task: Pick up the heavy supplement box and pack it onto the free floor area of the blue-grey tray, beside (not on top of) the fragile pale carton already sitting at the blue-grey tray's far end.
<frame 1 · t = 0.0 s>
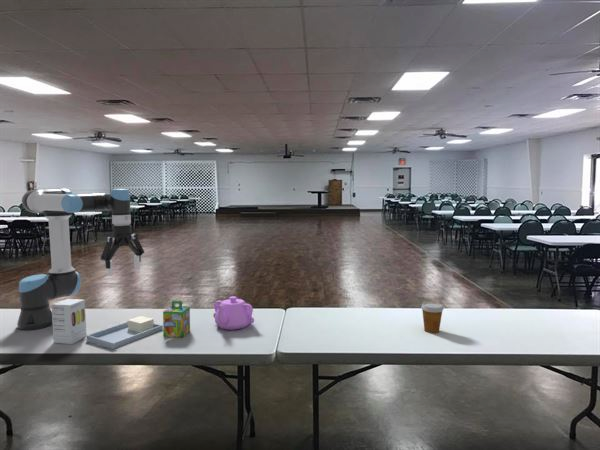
hand: (124, 272, 186), 28 cm above the table, fingers open, 13 cm apart
supplement box: (70, 340, 184), on the table
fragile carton: (141, 329, 194), point 1 cm above the table, touching blue-grey tray
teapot: (231, 327, 198), on the table
chalk box: (177, 334, 190), on the table
disposable coffee cup: (431, 331, 191), on the table
blue-grey tray: (126, 335, 188), on the table
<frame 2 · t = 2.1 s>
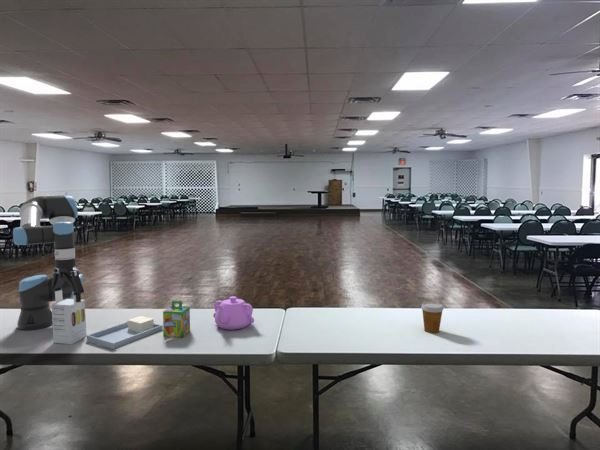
hand: (68, 307, 182), 14 cm above the table, fingers open, 13 cm apart
nothing on the table moved.
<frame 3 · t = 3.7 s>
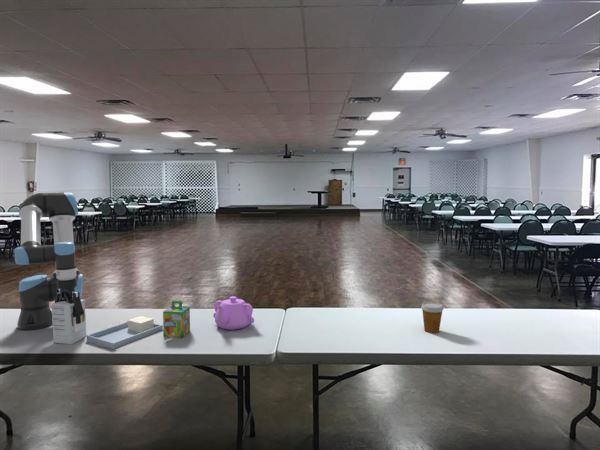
hand: (69, 328, 183), 5 cm above the table, fingers closed on supplement box, 11 cm apart
supplement box: (70, 340, 183), on the table, touching gripper
everything else where it was.
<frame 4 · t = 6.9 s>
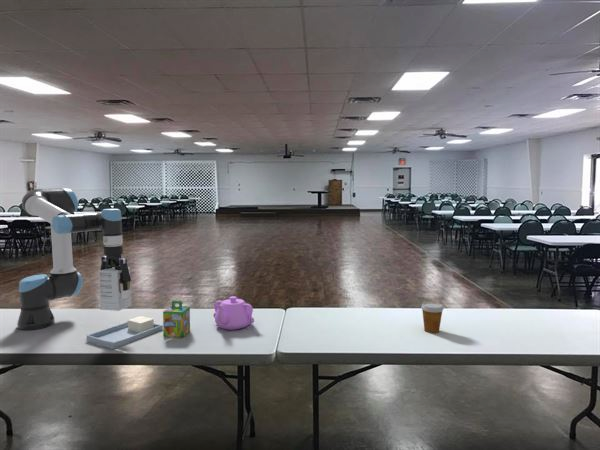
hand: (115, 296, 182), 19 cm above the table, fingers closed on supplement box, 11 cm apart
supplement box: (116, 307, 183), point 14 cm above the table, touching gripper
everything else where it was.
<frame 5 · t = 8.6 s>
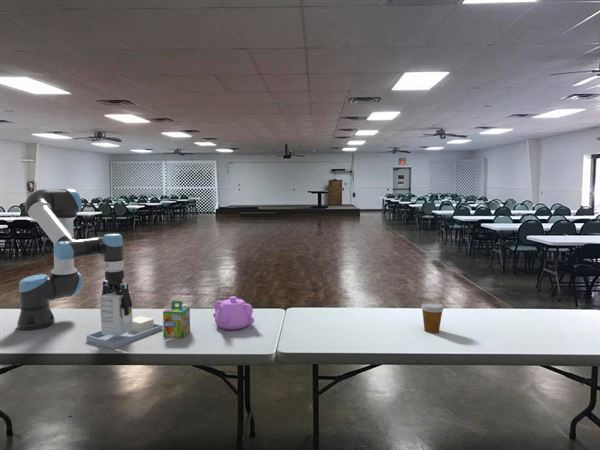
hand: (117, 320, 183), 8 cm above the table, fingers closed on supplement box, 11 cm apart
supplement box: (117, 332, 184), point 3 cm above the table, touching gripper
everything else where it was.
when the fingers open (7 cm above the table, at t = 9.9 s): supplement box drops 1 cm, resting on blue-grey tray.
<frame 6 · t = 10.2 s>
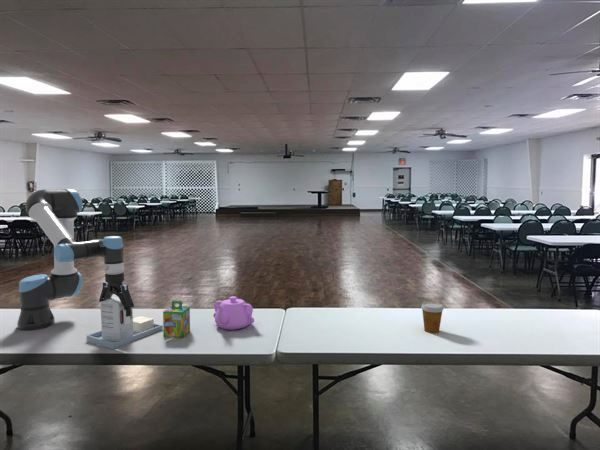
hand: (117, 321, 183), 8 cm above the table, fingers open, 13 cm apart
supplement box: (118, 337, 184), resting on blue-grey tray
everything else where it was.
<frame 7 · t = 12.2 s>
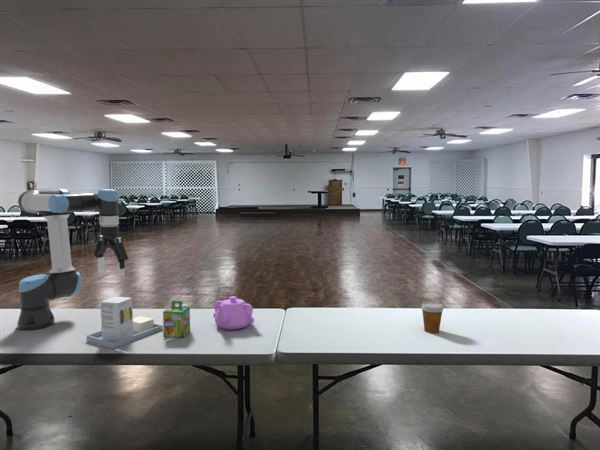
hand: (111, 274, 185), 28 cm above the table, fingers open, 13 cm apart
nothing on the table moved.
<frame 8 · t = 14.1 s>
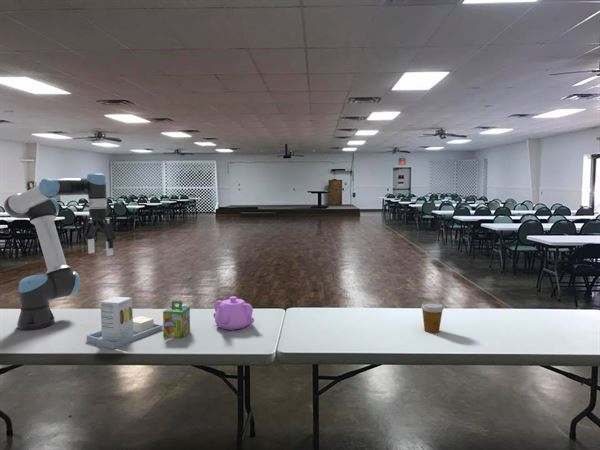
hand: (100, 254, 195), 35 cm above the table, fingers open, 13 cm apart
nothing on the table moved.
at the end: supplement box inside the target area on the blue-grey tray (0.2 cm from its centre), point 0.4 cm above the blue-grey tray's base; supplement box tilted 0°; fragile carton moved 0.0 cm from its start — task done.
